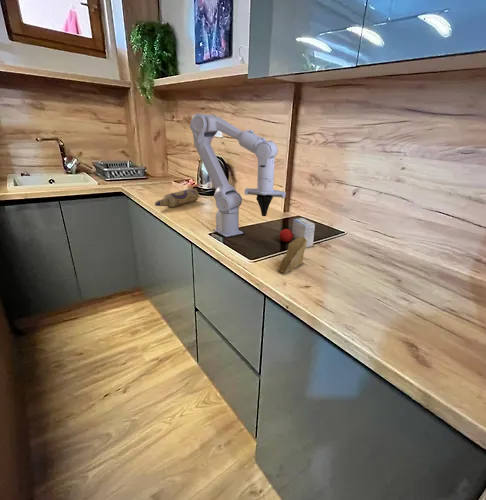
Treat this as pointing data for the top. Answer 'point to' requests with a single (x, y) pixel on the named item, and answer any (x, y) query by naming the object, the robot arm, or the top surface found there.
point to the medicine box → (303, 230)
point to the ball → (286, 235)
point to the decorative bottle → (178, 198)
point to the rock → (293, 255)
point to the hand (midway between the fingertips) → (264, 215)
